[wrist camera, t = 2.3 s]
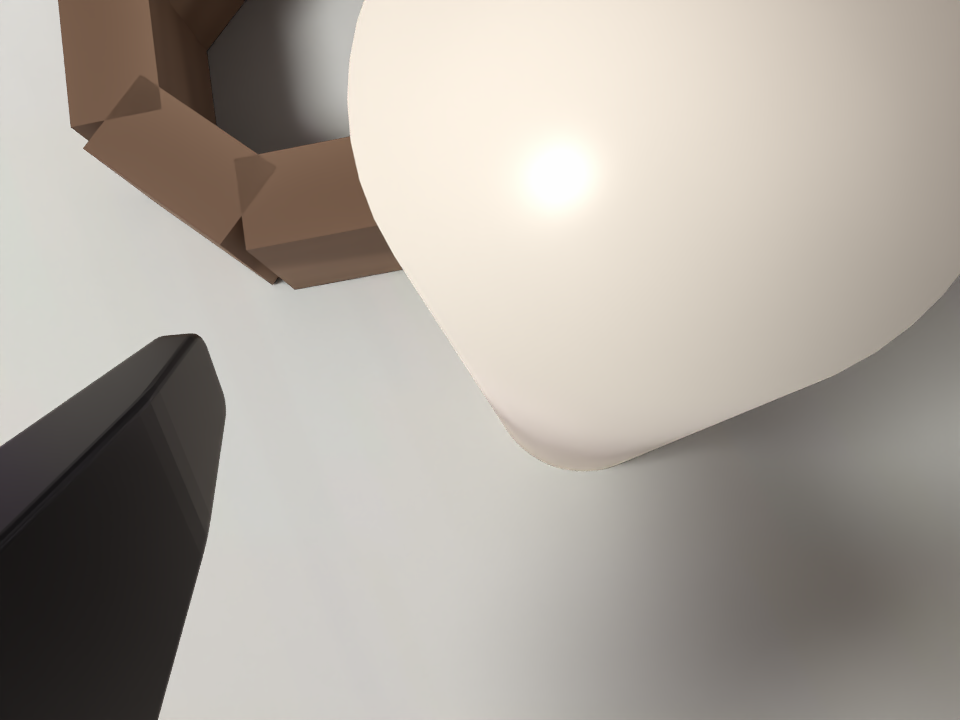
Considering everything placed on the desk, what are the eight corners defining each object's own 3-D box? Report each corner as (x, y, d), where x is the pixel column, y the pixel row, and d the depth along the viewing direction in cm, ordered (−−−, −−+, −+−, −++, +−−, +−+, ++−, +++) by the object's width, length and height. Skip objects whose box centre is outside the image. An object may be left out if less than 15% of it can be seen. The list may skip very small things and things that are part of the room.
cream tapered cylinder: (606, 508, 17) (777, 549, 4) (456, 402, 18) (219, 166, 5) (708, 357, 17) (1151, -15, 5) (559, 258, 18) (587, -322, 5)
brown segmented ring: (383, 363, 18) (351, 337, 15) (55, 131, 19) (-34, 65, 16) (632, 17, 19) (648, -73, 16) (299, -184, 20) (255, -302, 17)
